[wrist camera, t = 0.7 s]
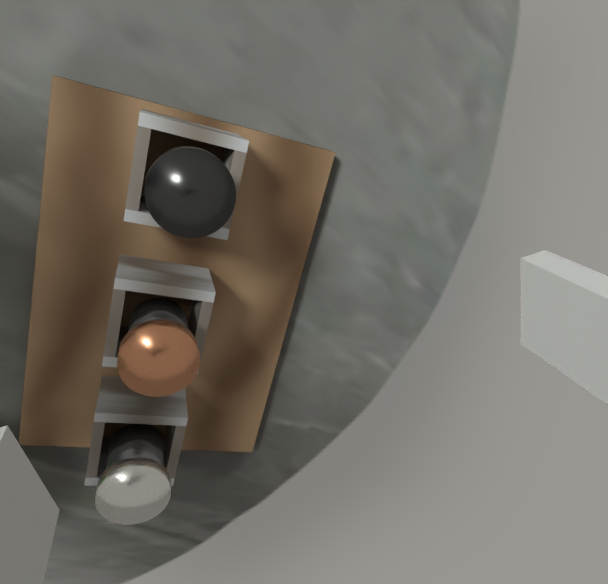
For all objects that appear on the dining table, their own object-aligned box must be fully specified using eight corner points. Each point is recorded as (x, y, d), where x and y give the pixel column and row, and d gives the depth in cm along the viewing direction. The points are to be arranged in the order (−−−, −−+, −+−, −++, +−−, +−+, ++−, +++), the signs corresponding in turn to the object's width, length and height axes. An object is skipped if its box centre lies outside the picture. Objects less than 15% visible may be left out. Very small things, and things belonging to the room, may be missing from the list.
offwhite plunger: (99, 468, 34) (90, 525, 29) (107, 416, 32) (99, 468, 28) (163, 469, 35) (164, 524, 31) (173, 419, 34) (176, 469, 30)
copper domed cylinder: (118, 350, 31) (111, 393, 26) (128, 287, 30) (123, 322, 25) (187, 356, 32) (192, 399, 28) (199, 297, 31) (206, 332, 27)
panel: (22, 434, 37) (0, 491, 31) (56, 75, 29) (34, 73, 23) (249, 443, 43) (262, 491, 38) (330, 150, 35) (360, 161, 30)
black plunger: (140, 207, 28) (138, 229, 24) (153, 130, 27) (152, 138, 22) (215, 221, 29) (226, 245, 25) (230, 149, 28) (244, 161, 24)
